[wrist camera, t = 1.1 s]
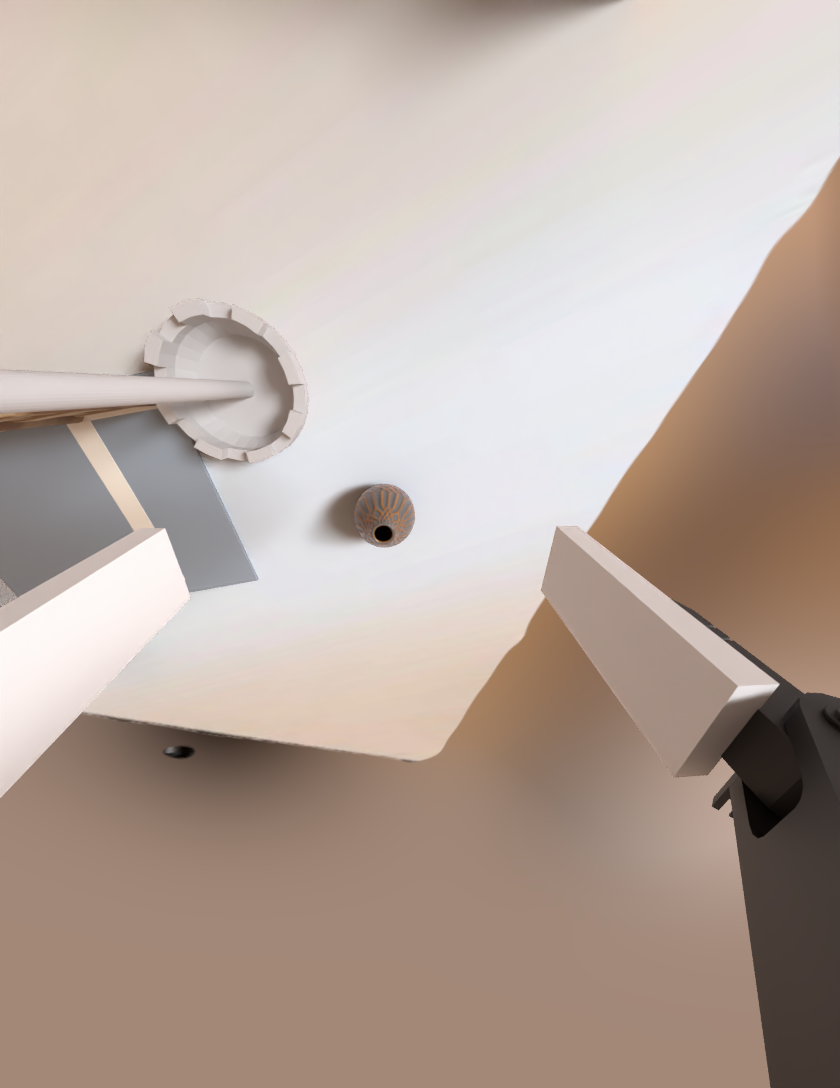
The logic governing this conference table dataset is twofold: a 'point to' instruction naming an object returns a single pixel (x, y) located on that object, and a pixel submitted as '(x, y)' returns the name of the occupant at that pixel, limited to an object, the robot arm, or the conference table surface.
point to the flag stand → (193, 383)
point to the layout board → (111, 498)
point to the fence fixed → (53, 417)
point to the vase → (384, 515)
